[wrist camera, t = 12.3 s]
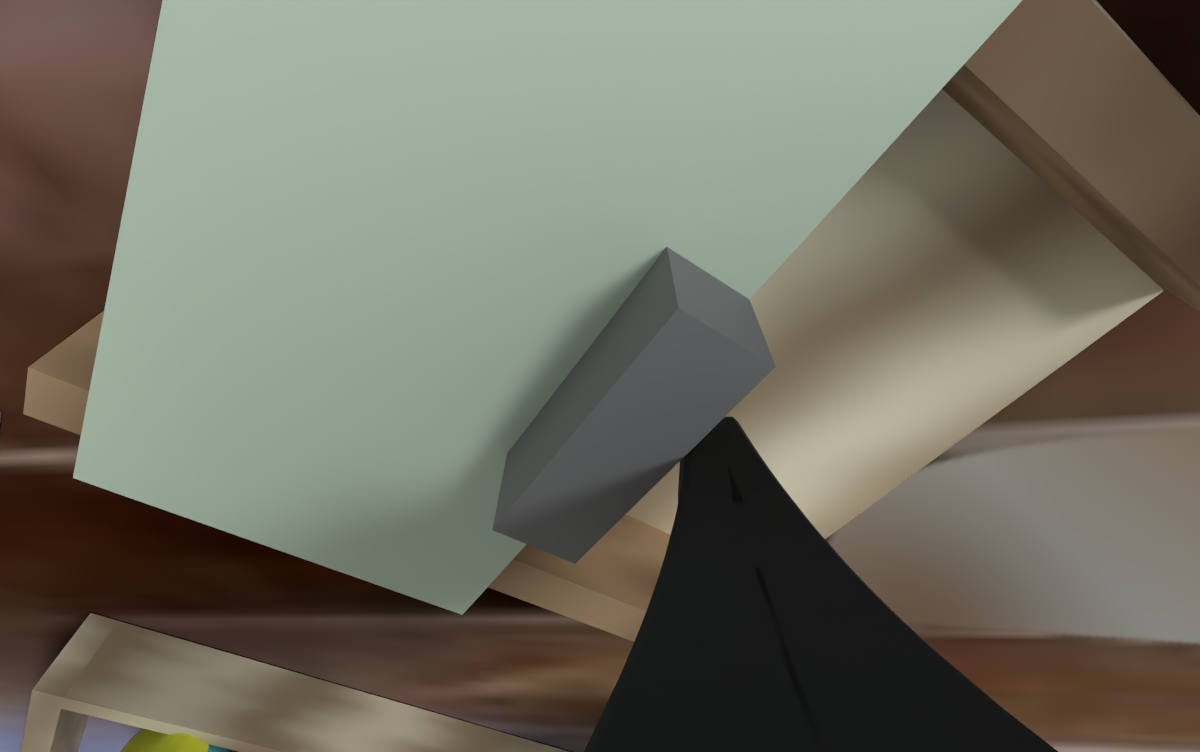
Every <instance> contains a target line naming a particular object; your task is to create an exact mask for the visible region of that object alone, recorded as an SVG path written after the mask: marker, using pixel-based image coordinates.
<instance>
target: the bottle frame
mask: <svg viewBox="0 0 1200 752" xmlns="http://www.w3.org/2000/svg"><path fill="white" fill-rule="evenodd" d="M88 715H89V716H93V717H97V718H102V719H106V720H110V721H114V722H118V723H122V724H127V725H131V726H135V727H139V728H143V729H147V730H151V731H156V732H160V733H164V734H168V735H171V734H181V733H182V734H188V735H191V736H193V737H195V738H197V739H199V740H201V741H203V742H205V743H207V744H209V745H214V746H218V747H222V748H226V749H230V750H234V751H238V752H568V751H565V750H561V749H558V748H555V747H551V746H548V745H544V744H541V743H537V742H534V741H530V740H527V739H524V738H520V737H517V736H513V735H510V734H506V733H503V732H499V731H496V730H493V729H489V728H486V727H482V726H479V725H475V724H472V723H468V722H465V721H462V720H458V719H455V718H451V717H448V716H444V715H441V714H437V713H434V712H431V711H427V710H424V709H420V708H417V707H413V706H410V705H406V704H403V703H400V702H396V701H393V700H389V699H386V698H382V697H379V696H375V695H372V694H368V693H365V692H362V691H358V690H355V689H351V688H348V687H344V686H341V685H337V684H334V683H331V682H327V681H324V680H320V679H317V678H313V677H310V676H306V675H303V674H300V673H296V672H293V671H289V670H286V669H282V668H279V667H275V666H272V665H269V664H265V663H262V662H258V661H255V660H251V659H248V658H244V657H241V656H238V655H234V654H231V653H227V652H224V651H220V650H217V649H213V648H210V647H207V646H203V645H200V644H196V643H193V642H189V641H186V640H182V639H179V638H176V637H172V636H169V635H165V634H162V633H158V632H155V631H151V630H148V629H145V628H141V627H138V626H134V625H131V624H127V623H124V622H120V621H117V620H114V619H110V618H107V617H103V616H100V615H96V614H93V613H90V614H89V616H88V617H87V618H86V620H85V621H84V622H83V623H82V625H81V626H80V627H79V629H78V630H77V631H76V633H75V634H74V635H73V637H72V638H71V639H70V641H69V642H68V643H67V645H66V646H65V647H64V648H63V650H62V651H61V652H60V654H59V655H58V656H57V658H56V659H55V660H54V662H53V663H52V664H51V666H50V667H49V668H48V670H47V671H46V672H45V673H44V675H43V676H42V677H41V679H40V680H39V681H38V683H37V684H36V685H35V687H34V688H33V689H32V693H31V698H30V704H29V709H28V714H27V720H26V725H25V731H24V736H23V741H22V747H21V752H77V750H78V747H79V744H80V741H81V737H82V734H83V731H84V728H85V725H86V722H87V718H88Z"/></svg>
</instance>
